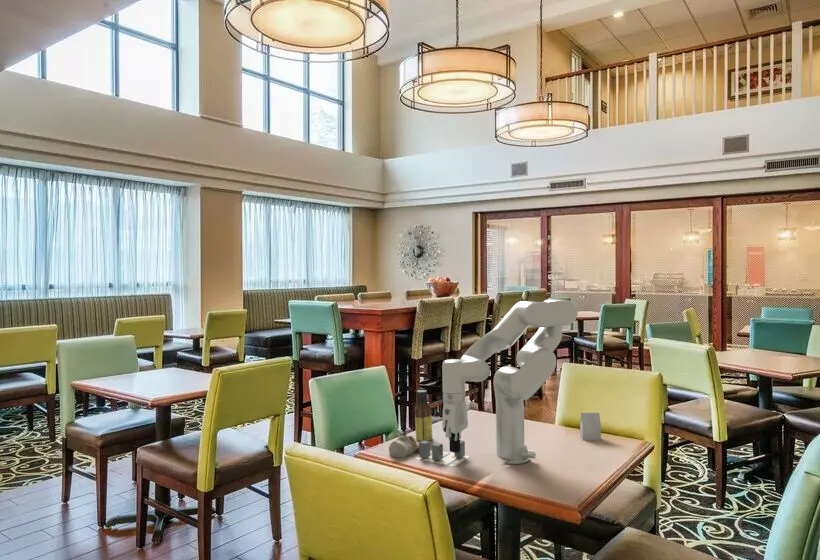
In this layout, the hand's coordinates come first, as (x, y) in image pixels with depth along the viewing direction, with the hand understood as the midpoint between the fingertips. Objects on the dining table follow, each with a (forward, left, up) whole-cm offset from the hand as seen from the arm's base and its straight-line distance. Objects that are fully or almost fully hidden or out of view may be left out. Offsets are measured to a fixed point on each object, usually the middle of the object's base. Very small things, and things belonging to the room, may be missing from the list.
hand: (455, 451), depth 189 cm
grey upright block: (-30, -52, -5) cm, 61 cm away
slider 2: (+5, +3, -3) cm, 7 cm away
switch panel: (+5, 0, -5) cm, 7 cm away
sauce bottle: (+22, -15, -5) cm, 27 cm away
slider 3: (0, -3, -3) cm, 5 cm away
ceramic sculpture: (+19, +1, -5) cm, 20 cm away
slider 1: (+10, +3, -3) cm, 11 cm away
